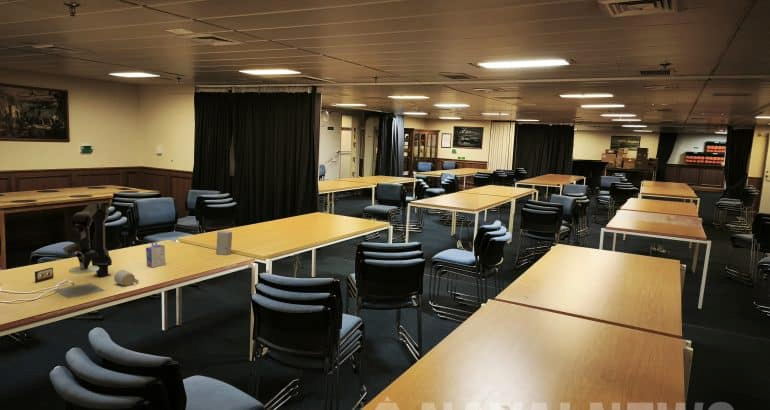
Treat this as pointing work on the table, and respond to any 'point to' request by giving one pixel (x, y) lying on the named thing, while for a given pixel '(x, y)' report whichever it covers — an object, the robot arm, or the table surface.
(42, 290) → the table surface
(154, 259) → the ink cartridge box
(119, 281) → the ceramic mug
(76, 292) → the rubber mat
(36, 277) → the audio cassette
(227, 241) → the skincare box
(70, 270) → the round lid
